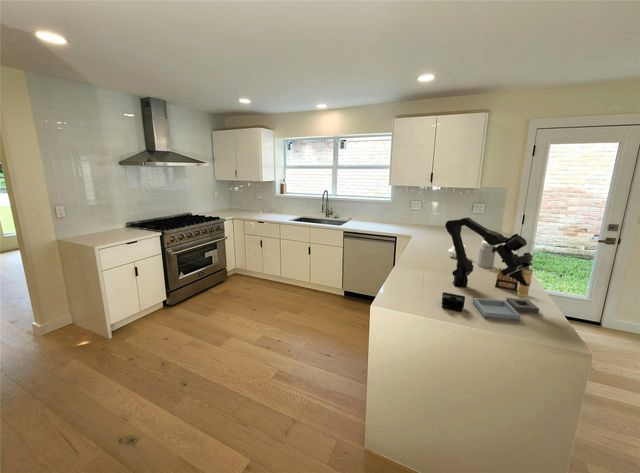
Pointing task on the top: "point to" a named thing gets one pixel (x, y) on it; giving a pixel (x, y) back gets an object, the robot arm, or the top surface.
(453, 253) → the mechanical part
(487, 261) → the jar
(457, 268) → the robot arm
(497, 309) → the parts tray
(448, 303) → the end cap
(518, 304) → the block
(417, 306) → the top surface
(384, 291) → the top surface
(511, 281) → the ammunition clip
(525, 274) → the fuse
